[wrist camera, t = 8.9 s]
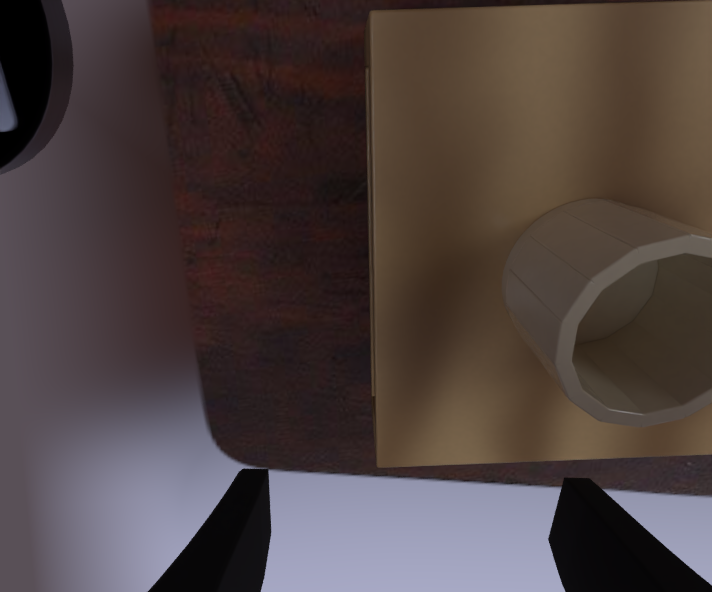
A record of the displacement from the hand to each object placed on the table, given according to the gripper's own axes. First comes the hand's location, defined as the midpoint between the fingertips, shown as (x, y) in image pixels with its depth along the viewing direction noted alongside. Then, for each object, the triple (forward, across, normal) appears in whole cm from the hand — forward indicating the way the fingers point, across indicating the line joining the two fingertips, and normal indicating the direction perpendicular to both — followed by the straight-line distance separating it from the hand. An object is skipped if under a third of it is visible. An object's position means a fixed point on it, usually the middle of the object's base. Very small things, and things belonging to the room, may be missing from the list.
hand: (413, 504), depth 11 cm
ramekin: (+6, -6, -4) cm, 9 cm away
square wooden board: (+10, -6, -4) cm, 12 cm away
